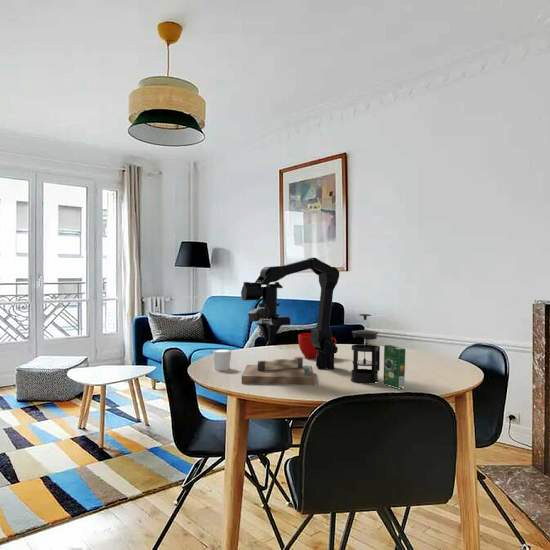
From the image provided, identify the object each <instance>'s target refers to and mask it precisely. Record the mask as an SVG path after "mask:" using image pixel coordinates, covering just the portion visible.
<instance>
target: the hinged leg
mask: <svg viewBox="0 0 550 550" xmlns="http://www.w3.org/2000/svg"><path fill="white" fill-rule="evenodd" d="M303 360H304V358H303V357H301V356H296V357H292V358H281V359H280V358H279V359H267V360H258V361H257V365H258V371H266V370H276V369H287V368H300V367H303V366H304V364H303V362H304V361H303Z"/></svg>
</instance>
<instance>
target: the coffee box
mask: <svg viewBox="0 0 550 550" xmlns="http://www.w3.org/2000/svg"><path fill="white" fill-rule="evenodd" d="M383 346H384V347H383V383H384V384H383V385H385V384H388V385H391V386H394V387H397V388H402V387H404V388H405V372H406V348H403V347H399V346H395V345H392V344H385V345H383ZM388 385H387V386H388ZM391 386H390V387H391ZM394 387H393V388H394Z"/></svg>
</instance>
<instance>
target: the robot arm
mask: <svg viewBox="0 0 550 550" xmlns="http://www.w3.org/2000/svg"><path fill="white" fill-rule="evenodd" d="M306 270H307V271H308V270H311V271H312V272H313V273H314V274H315V275H317V276H318V283H319V287H320V296H319V305H318V306H319V307H318V313H317V324H316V326H315V328H311V329H310V333H311V337H310V339H311V342H312V344H313V346H315V350H316V351H318V355H316V358H315V367H316V368H317V369H318V370H335V354H337V352H338V346H337V344H336V345H335V344H334V343H335V342H333V339H332V338H333V334H332V331H331V328H330V325H331V323H330V322H331V314H332V306H333V295H334V294H333V293H334V290H335V288H336V287H337V285H338V282H339V279H340V270H339V269H338V268H336V267H335V266H331V265H329V264H327V263H325V261H324V262H323V261H322V260H320V259H318V258H317V257H309V258H307V259H303V260H298V261H296V262H292V263H288V264H284V265H276V266H275V265H274V266H264V267H263V268H262V269H261V270H260V273H259V276H258V277H257V278H256V280H255V282H249V281H244V282H243V285H242V287H241V290H240V295H241V299H242V301H253V302H254V301H259V300H260V299H261V302H259V303H258V307H256V308H254V309H252V310H249V311H248V312H247V314H248V322H251V323H254V322H256V325H258V326H259V328H260V329H261V331H262V333H263V337H264V341H265V343H269V344H272V343H273V341H274V340H275V337H276V335H277V334H278V331H279V330H280V328H281V327H282V326H288V325H289V326H290V325H292V324H291V322H292V321H291V320H292V319H291V317H290V316H285V315H280V314H279V313H278V307H280V303H279V302H278V289H283V287H284V286H283V285H282V284H280V282H279V281H280V280H282V279H284V278H285V277H286V276H289V275H292V274H296V273H300V272H303V271H306ZM264 285H265V286H264Z"/></svg>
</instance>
